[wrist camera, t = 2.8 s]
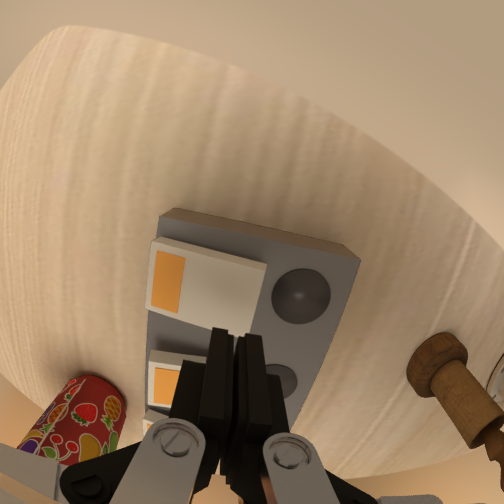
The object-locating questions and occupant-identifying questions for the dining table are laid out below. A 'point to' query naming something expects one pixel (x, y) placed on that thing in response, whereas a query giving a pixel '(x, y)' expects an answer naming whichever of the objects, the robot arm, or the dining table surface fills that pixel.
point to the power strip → (267, 298)
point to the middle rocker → (165, 375)
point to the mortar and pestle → (458, 393)
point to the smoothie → (78, 423)
